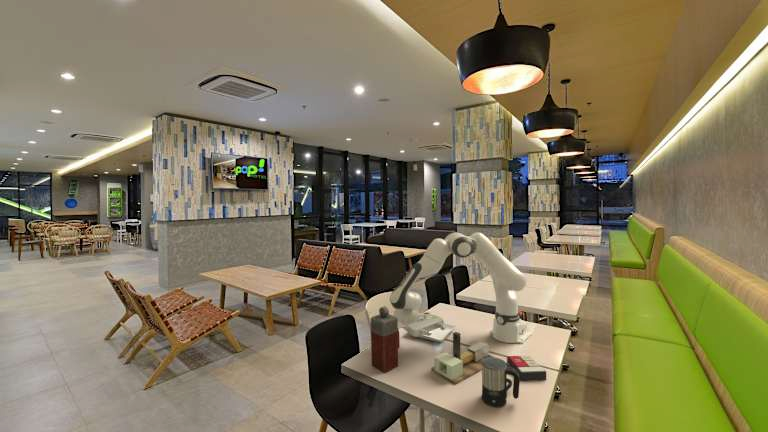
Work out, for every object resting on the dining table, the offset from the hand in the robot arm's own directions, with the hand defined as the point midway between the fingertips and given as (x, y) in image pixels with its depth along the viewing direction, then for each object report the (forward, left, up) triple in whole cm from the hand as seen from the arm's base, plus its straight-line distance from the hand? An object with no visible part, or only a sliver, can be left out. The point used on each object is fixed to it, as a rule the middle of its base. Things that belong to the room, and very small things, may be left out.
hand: (437, 331), depth 156 cm
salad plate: (-18, -22, -14) cm, 31 cm away
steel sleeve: (-15, +12, -14) cm, 24 cm away
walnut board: (-6, +12, -14) cm, 19 cm away
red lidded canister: (+22, -11, -14) cm, 28 cm away
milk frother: (+1, +34, -14) cm, 36 cm away
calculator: (-23, +31, -14) cm, 41 cm away
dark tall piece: (-3, +12, -11) cm, 17 cm away
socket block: (+6, +12, -14) cm, 19 cm away
